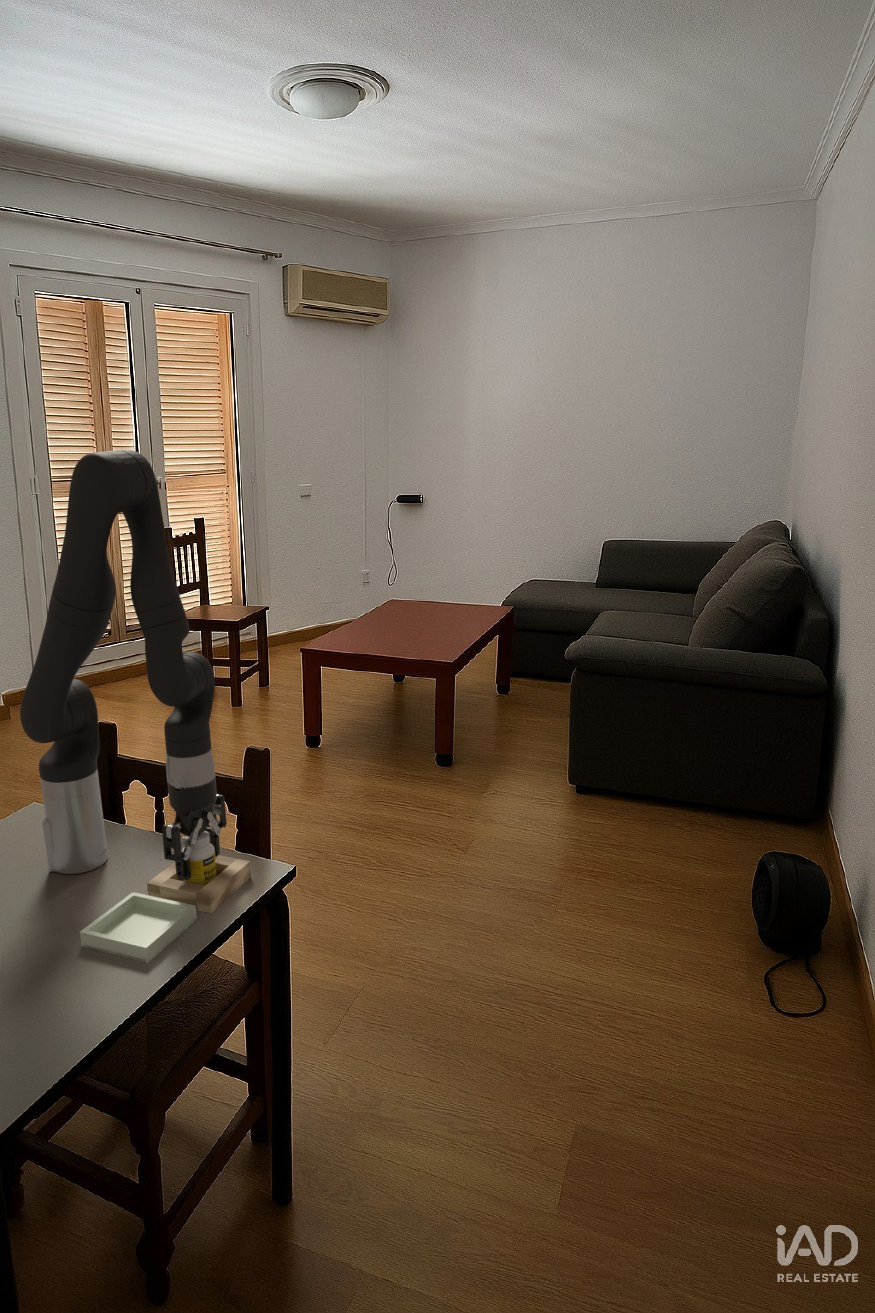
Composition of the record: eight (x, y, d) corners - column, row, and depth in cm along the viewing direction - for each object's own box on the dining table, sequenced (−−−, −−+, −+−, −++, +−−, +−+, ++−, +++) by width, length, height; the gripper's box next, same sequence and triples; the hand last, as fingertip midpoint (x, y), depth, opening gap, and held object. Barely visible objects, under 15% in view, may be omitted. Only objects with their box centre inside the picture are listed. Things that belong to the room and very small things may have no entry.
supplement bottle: (208, 898, 144) (204, 844, 142) (178, 894, 145) (173, 841, 143) (222, 881, 150) (218, 829, 147) (193, 878, 151) (189, 826, 148)
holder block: (210, 913, 140) (209, 896, 139) (148, 899, 144) (146, 883, 143) (251, 877, 151) (250, 861, 150) (192, 865, 155) (190, 850, 154)
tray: (147, 963, 127) (146, 948, 127) (81, 946, 131) (79, 932, 131) (196, 919, 138) (195, 905, 138) (134, 905, 142) (132, 892, 142)
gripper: (197, 757, 150) (205, 844, 154) (143, 790, 137) (153, 883, 141) (235, 763, 147) (242, 851, 152) (184, 796, 134) (192, 892, 139)
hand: (199, 866), depth 146 cm, fingers open, 7 cm apart
